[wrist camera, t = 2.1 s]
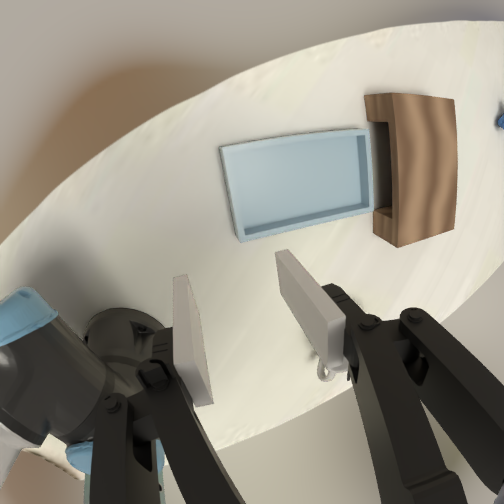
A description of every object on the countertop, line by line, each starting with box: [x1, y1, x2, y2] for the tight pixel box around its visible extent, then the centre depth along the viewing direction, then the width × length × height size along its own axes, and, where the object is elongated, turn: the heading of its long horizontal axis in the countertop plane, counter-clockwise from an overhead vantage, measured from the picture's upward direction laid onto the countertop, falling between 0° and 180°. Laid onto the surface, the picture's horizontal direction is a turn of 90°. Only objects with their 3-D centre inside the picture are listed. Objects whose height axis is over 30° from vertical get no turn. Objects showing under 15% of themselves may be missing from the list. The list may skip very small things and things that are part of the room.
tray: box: [219, 128, 374, 243], centre depth 37 cm, size 20×12×3 cm, turn 99°
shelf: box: [364, 93, 458, 248], centre depth 38 cm, size 14×22×6 cm, turn 9°
